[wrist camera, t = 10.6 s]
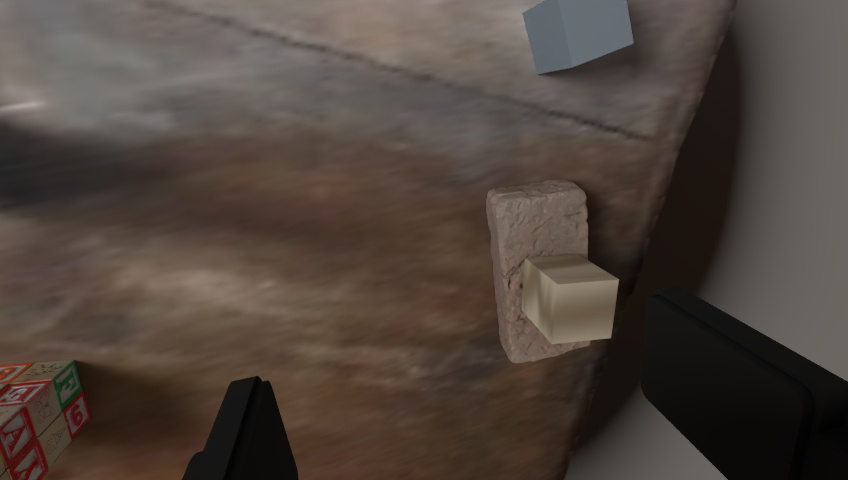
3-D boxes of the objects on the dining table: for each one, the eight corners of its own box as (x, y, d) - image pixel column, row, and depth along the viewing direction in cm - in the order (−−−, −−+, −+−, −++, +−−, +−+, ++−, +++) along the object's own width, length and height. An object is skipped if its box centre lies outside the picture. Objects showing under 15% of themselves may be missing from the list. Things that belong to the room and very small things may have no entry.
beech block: (524, 257, 37) (557, 284, 31) (577, 254, 38) (618, 279, 32) (521, 310, 38) (552, 344, 33) (572, 305, 39) (610, 337, 33)
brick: (480, 190, 39) (497, 200, 35) (565, 174, 40) (592, 183, 36) (496, 343, 44) (512, 369, 40) (570, 326, 45) (594, 349, 41)
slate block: (522, 13, 35) (556, -6, 29) (576, -8, 35) (621, -31, 29) (537, 74, 36) (572, 67, 31) (589, 54, 37) (633, 43, 31)
